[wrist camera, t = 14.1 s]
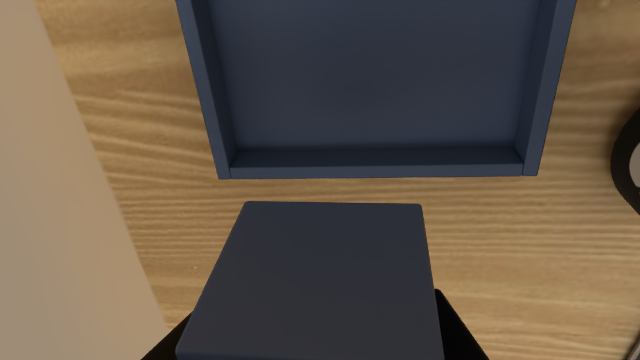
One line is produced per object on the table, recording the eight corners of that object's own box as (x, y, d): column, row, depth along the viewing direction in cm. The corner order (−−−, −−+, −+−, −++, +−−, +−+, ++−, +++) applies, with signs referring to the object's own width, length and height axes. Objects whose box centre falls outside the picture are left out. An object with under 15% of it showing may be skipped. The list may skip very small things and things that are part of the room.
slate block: (267, 316, 12) (221, 478, 8) (244, 199, 10) (171, 351, 6) (412, 324, 11) (427, 500, 8) (422, 202, 9) (447, 370, 6)
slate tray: (231, 158, 20) (218, 180, 18) (151, -212, 13) (118, -231, 11) (522, 152, 18) (537, 176, 16) (607, -279, 11) (648, -314, 10)
